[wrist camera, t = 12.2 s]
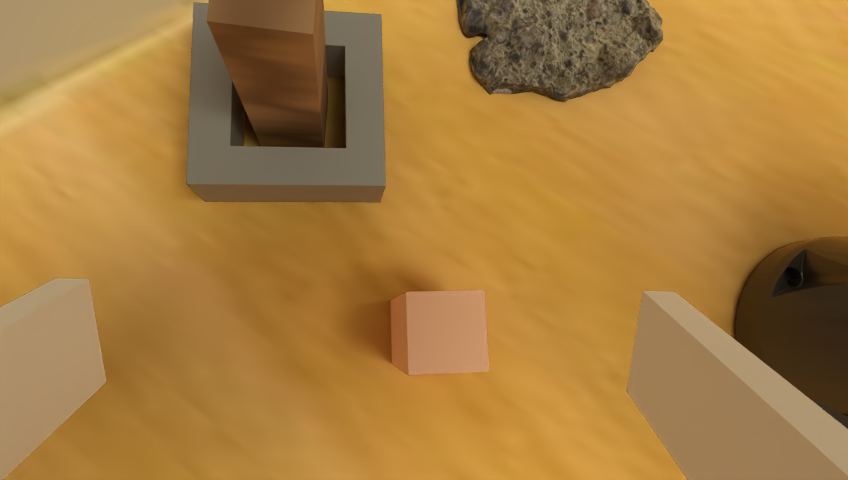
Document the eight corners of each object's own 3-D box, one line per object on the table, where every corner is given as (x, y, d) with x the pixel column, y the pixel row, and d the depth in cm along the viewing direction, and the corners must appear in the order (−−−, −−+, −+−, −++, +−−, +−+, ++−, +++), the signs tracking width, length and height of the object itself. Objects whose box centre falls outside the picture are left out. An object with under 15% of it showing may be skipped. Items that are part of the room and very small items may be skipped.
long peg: (328, 96, 34) (320, -56, 21) (323, 152, 34) (313, 34, 20) (266, 89, 34) (217, -71, 20) (261, 147, 33) (206, 21, 19)
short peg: (450, 298, 33) (484, 289, 26) (453, 361, 33) (489, 371, 25) (390, 300, 33) (406, 291, 25) (391, 363, 32) (408, 375, 24)
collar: (376, 48, 35) (381, 14, 32) (380, 202, 34) (385, 185, 30) (210, 39, 34) (193, 2, 30) (205, 201, 32) (186, 184, 28)
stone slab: (656, 111, 39) (682, 93, 36) (443, 96, 36) (453, 75, 33) (641, -32, 41) (665, -60, 38) (440, -57, 38) (448, -89, 35)
